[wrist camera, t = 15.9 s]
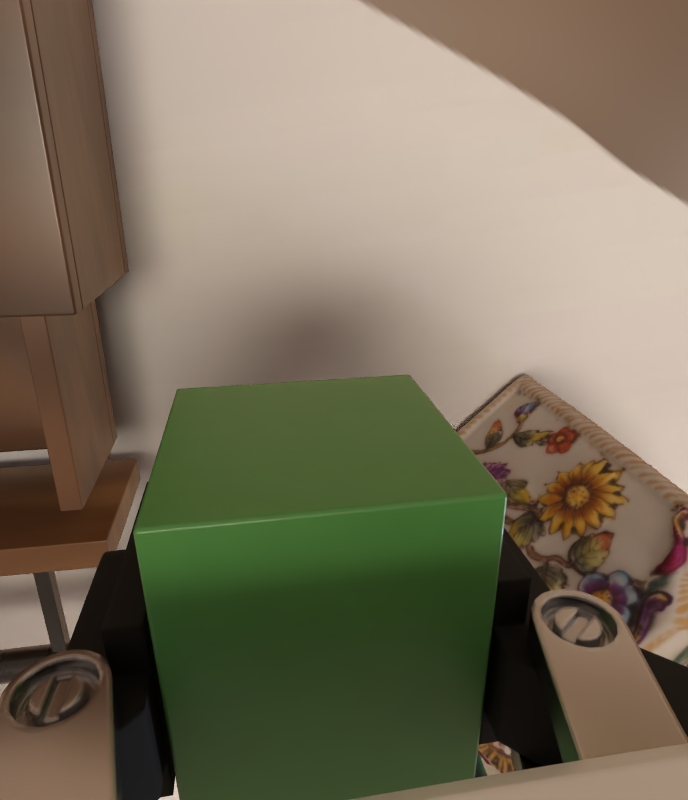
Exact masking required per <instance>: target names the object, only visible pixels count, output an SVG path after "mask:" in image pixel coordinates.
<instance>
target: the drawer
mask: <svg viewBox="0 0 688 800" xmlns="http://www.w3.org/2000/svg"><path fill="white" fill-rule="evenodd" d="M116 438H117V434H116V428H115V422H114V415H113V409H112V403H111V397H110V391H109V384H108V378H107V372H106V366H105V360H104V353H103V347H102V341H101V335H100V329H99V322H98V316H97V310H96V304H95V300H93V301H92V302H91V303H90V304H89V305H88V306H86V307H85V308H84V309H82V310H81V311H80V312H79V313H77V314H76V315H65V316H34V317H3V318H0V452H8V451H23V450H39V449H48V454H49V459H50V463H51V465H39V466H25V467H11V468H0V576H8V575H19V574H29V573H33V574H34V578H35V582H36V587H37V591H38V595H39V599H40V603H41V607H42V611H43V615H44V619H45V623H46V627H47V631H48V635H49V639H50V643H51V644H47V645H39V646H30V647H21V648H12V649H3V650H0V684H7V683H10V682H11V681H12V679H14V678H15V677H16V676H17V675H18V674H19V673H21V672H22V671H23V670H24V669H25V668H27V667H28V666H30V665H32V664H33V663H35V662H37V661H38V660H40V659H42V658H44V657H47V656H50V655H52V654H55V653H58V652H62V651H67V648H68V646H69V643H70V638H69V634H68V630H67V625H66V621H65V616H64V612H63V608H62V603H61V599H60V595H59V590H58V586H57V582H56V577H55V573H54V571H60V570H71V569H81V568H92V567H98V565H99V562H100V559H101V557H102V555H103V553H105V552H107V551H116V549H117V546H118V544H119V541H120V538H121V535H122V532H123V529H124V526H125V523H126V520H127V517H128V514H129V511H130V508H131V505H132V502H133V500H134V497H135V494H136V491H137V488H138V485H139V482H140V473H139V466H138V460H137V459H126V460H112V461H106V460H107V458H108V456H109V454H110V452H111V450H112V447H113V445H114V443H115V441H116Z"/></svg>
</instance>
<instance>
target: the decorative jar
mask: <svg viewBox="0 0 688 800" xmlns="http://www.w3.org/2000/svg"><path fill="white" fill-rule="evenodd" d="M457 433H458V435H459V436H460V437H461V438H462V440H463V441H464V442H465V443H466V444H467V446H468V447H469V448H470V449H471V450H472V452H473V453H474V454H475V455H476V457H477V458H478V459H479V460H480V461H481V463H482V464H483V465H484V466H485V467H486V469H487V470H488V471H489V472H490V474H491V475H492V476H493V477H494V478H495V480H496V481H497V482H498V483H499V484H500V486H501V487H502V488H503V489H504V491H505V492H506V494H507V505H506V514H505V522H504V528H505V529H506V530H507V532H508V533H509V534H510V536H511V537H512V539H513V540H514V541H515V543H516V544H517V545H518V547H519V548H520V549H521V551H522V552H523V554H524V555H525V556H526V558H527V559H528V560H529V562H530V563H531V564H532V566H533V567H534V568H535V570H536V571H537V573H538V574H539V575H540V577H541V578H542V579H543V581H544V582H545V583H546V585H547V586H548V588H549V589H550V590H557V589H570V590H577V591H581V592H584V593H587V594H590V595H593V596H595V597H597V598H599V599H601V600H603V601H605V602H607V603H608V604H609V605H610V606H612V607H613V608H614V609H615V610H616V611H618V613H619V614H620V615H621V617H622V618H623V619H624V621H625V622H626V624H627V626H628V628H629V629H630V631H631V633H632V635H633V637H634V639H635V641H636V642H637V644H638V646H639V647H640V648H642V649H645V650H647V651H650V652H652V653H655V654H657V655H659V656H662V657H664V658H667V659H669V660H672V661H674V662H676V663H679V664H681V665H684V666H686V667H688V495H687V494H686V493H685V492H684V491H683V490H681V489H679V488H678V487H677V486H676V485H675V484H673V483H672V482H670V480H668V479H667V478H666V477H664V476H663V475H661V474H660V473H659V472H658V471H657V470H656V469H654V468H653V467H652V466H651V465H649V464H647V463H646V462H645V461H644V460H642V459H641V458H640V457H639V456H638V455H636V454H635V453H633V452H632V451H631V450H630V449H628V448H627V447H625V446H624V445H623V444H621V443H620V442H619V441H617V440H616V439H615V438H614V437H613V436H611V435H610V434H608V433H607V432H606V431H604V430H603V429H602V428H601V427H599V426H598V425H597V424H595V423H594V422H592V421H591V420H590V419H588V418H587V417H585V416H584V415H583V414H581V413H580V412H579V411H578V410H576V409H575V408H574V407H572V406H570V405H569V404H567V403H566V402H565V401H564V400H562V399H561V398H559V397H558V396H556V395H555V394H553V393H552V392H550V391H549V390H547V389H546V388H544V387H542V386H541V385H540V384H539V383H537V381H535V380H534V379H533V378H532V377H530V376H526V375H524V376H521V377H519V378H518V379H517V380H516V381H514V382H513V383H512V384H511V385H509V386H508V387H507V388H506V389H505V390H504V391H503V392H502V393H501V394H499V395H498V396H497V397H496V398H495V399H494V400H493V401H492V402H490V403H489V404H488V405H487V406H486V407H485V408H484V409H483V410H481V411H480V412H479V413H478V414H477V415H476V416H475V417H474V418H472V419H471V420H470V421H469V422H468V423H466V424H465V425H464V426H463V427H462V428H461V429H460V430H459V431H458V432H457ZM478 754H479V755H480V756H481V757H482V758H483V759H484V761H485V762H486V763H487V764H489V765H491V766H493V767H495V768H496V769H497V771H498V772H499V773H500V774H501V773H507V772H513V771H514V768H513V764H512V759H511V748H509V747H507V746H505V745H504V744H502V743H500V742H492V743H486V744H480V745H479V746H478Z"/></svg>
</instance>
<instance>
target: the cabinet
mask: <svg viewBox="0 0 688 800" xmlns="http://www.w3.org/2000/svg"><path fill="white" fill-rule="evenodd" d="M127 272H128V264H127V257H126V249H125V242H124V235H123V227H122V220H121V213H120V205H119V198H118V191H117V183H116V176H115V169H114V161H113V154H112V147H111V139H110V132H109V124H108V117H107V110H106V102H105V95H104V88H103V80H102V73H101V66H100V58H99V51H98V44H97V36H96V29H95V22H94V14H93V7H92V0H0V318H3V317H34V316H65V315H76V314H77V313H79V312H80V311H81V310H82V309H84V308H85V307H86V306H88V305H89V304H90V303H91V302H92V301H93V300H95V299H96V298H97V297H98V296H99V295H101V294H102V293H103V292H104V291H105V290H107V289H108V288H109V287H110V286H111V285H112V284H114V283H115V282H116V281H117V280H118V279H120V278H121V277H122V276H123V275H124V274H126V273H127Z"/></svg>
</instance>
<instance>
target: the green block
mask: <svg viewBox="0 0 688 800" xmlns="http://www.w3.org/2000/svg"><path fill="white" fill-rule="evenodd" d="M506 505H507V494H506V492H505V491H504V489H503V488H502V487H501V486H500V484H499V483H498V482H497V481H496V480H495V478H494V477H493V476H492V475H491V474H490V472H489V471H488V470H487V469H486V467H485V466H484V465H483V464H482V463H481V461H480V460H479V459H478V458H477V457H476V455H475V454H474V453H473V452H472V450H471V449H470V448H469V447H468V446H467V444H466V443H465V442H464V441H463V440H462V438H461V437H460V436H459V435H458V433H457V432H456V431H455V430H454V429H453V427H452V426H451V425H450V424H449V422H448V421H447V420H446V419H445V418H444V416H443V415H442V414H441V413H440V412H439V410H438V409H437V408H436V407H435V405H434V404H433V403H432V402H431V401H430V399H429V398H428V397H427V396H426V395H425V393H424V392H423V391H422V390H421V388H420V387H419V386H418V385H417V384H416V382H415V381H414V380H413V379H412V378H411V376H410V375H396V376H380V377H364V378H348V379H331V380H315V381H299V382H283V383H267V384H251V385H235V386H219V387H203V388H187V389H178V390H177V392H176V395H175V398H174V401H173V405H172V408H171V411H170V414H169V417H168V421H167V424H166V427H165V430H164V434H163V437H162V440H161V443H160V447H159V450H158V453H157V456H156V460H155V463H154V466H153V469H152V473H151V476H150V479H149V482H148V485H147V489H146V492H145V495H144V498H143V502H142V505H141V508H140V511H139V515H138V518H137V521H136V524H135V528H134V531H133V535H134V540H135V546H136V552H137V558H138V563H139V569H140V575H141V581H142V586H143V592H144V598H145V604H146V609H147V615H148V621H149V627H150V632H151V638H152V644H153V650H154V655H155V661H156V667H157V673H158V678H159V684H160V690H161V696H162V701H163V707H164V713H165V719H166V724H167V730H168V736H169V742H170V747H171V753H172V759H173V765H174V770H175V776H176V782H177V788H178V793H179V799H180V800H350V799H356V798H362V797H367V796H373V795H379V794H385V793H390V792H396V791H402V790H408V789H414V788H419V787H425V786H431V785H437V784H443V783H448V782H454V781H460V780H466V779H472V778H475V771H476V763H477V754H478V746H479V737H480V728H481V720H482V711H483V703H484V694H485V685H486V677H487V668H488V660H489V651H490V642H491V634H492V625H493V617H494V608H495V600H496V591H497V582H498V574H499V565H500V557H501V548H502V539H503V531H504V522H505V514H506Z"/></svg>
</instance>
